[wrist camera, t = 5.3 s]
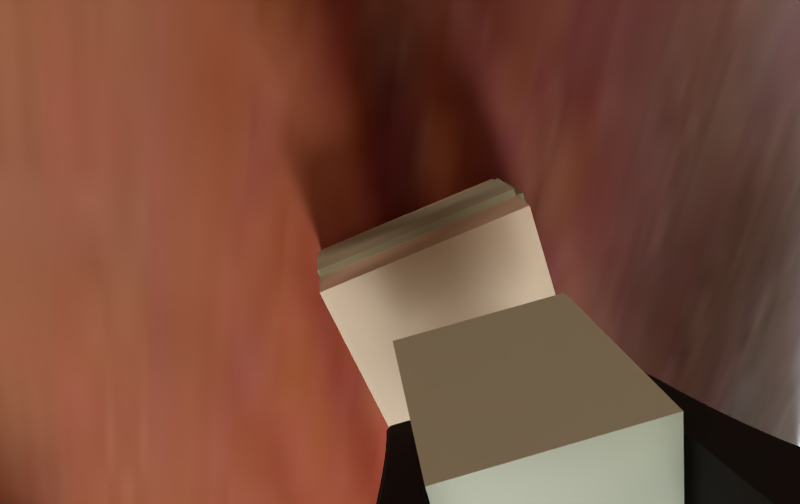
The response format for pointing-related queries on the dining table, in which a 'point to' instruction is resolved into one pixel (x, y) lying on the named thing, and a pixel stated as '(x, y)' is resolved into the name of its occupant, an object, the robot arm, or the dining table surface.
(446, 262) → the maple base
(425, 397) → the sage block
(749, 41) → the dining table surface
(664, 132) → the dining table surface
